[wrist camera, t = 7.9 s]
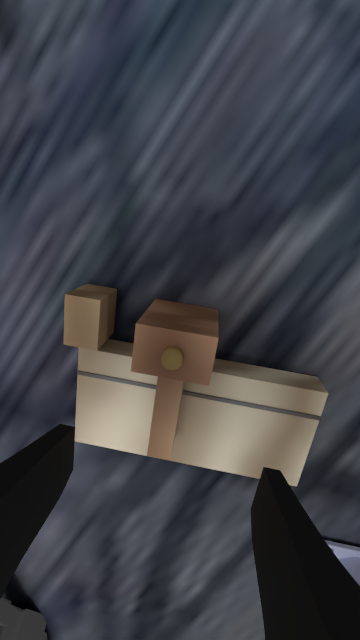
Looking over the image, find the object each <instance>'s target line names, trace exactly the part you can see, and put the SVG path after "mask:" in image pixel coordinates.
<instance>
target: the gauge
mask: <svg viewBox="0 0 360 640" xmlns="http://www.w3.org/2000/svg"><path fill="white" fill-rule="evenodd" d="M218 339H219V309H213V308H207V307H202V306H196V305H190V304H184V303H178V302H172V301H167V300H161V299H155V300H154V301H153V303H152V304H151V305H150V306H149V308H148V309H147V310H146V311H145V313H144V314H143V315H142V316H141V318H140V319H139V320H138V321H137V323H136V327H135V336H134V346H133V355H132V365H131V372H137V373H142V374H147V375H152V376H158V379H157V386H156V393H155V400H154V408H153V415H152V422H151V429H150V437H149V444H148V451H147V456H151V457H156V458H161V459H165V460H171V455H172V450H173V445H174V439H175V433H176V427H177V421H178V415H179V409H180V403H181V397H182V391H183V385H184V382H190V383H195V384H200V385H206V386H209V384H210V379H211V374H212V369H213V364H214V359H215V354H216V349H217V344H218Z"/></svg>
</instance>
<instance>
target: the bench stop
mask: <svg viewBox="0 0 360 640" xmlns="http://www.w3.org/2000/svg"><path fill="white" fill-rule="evenodd" d="M116 299H117V289H115V288H109V287H103V286H98V285H92V284H85V285H83V286H81V287H79V288H77V289H75V290H73V291H71V292H68V293H66V294H65V311H64V345H69V346H74V347H80V348H85V349H90V350H96V351H97V350H98V349H99V348H100V347H101V346H102V345H103V344H104V343H105V342H106V341H107V340H108V339H109V337H110V336H111V335H112V334H113V333H114V324H115V312H116Z"/></svg>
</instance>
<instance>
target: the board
mask: <svg viewBox="0 0 360 640" xmlns="http://www.w3.org/2000/svg"><path fill="white" fill-rule="evenodd" d="M133 346H134V343H128V342H123V341H117V340H112V339H108V340H107V341H106V342H105V343H104V344H103V345H102V346H101V347H100V348H99V349H98V350H97V351H96V350H90V349H85V348H80V347H79V356H78V371H77V375H78V378H77V400H76V422H75V441H77V442H81V443H86V444H91V445H96V446H101V447H106V448H111V449H116V450H121V451H126V452H130V453H135V454H140V455H145V456H147V451H148V444H149V437H150V429H151V422H152V415H153V408H154V400H155V393H156V386H157V379H158V376H152V375H147V374H142V373H137V372H131V365H132V355H133ZM327 396H328V392H327V390H326V389H325V387H324V385H323V384H322V382H321V381H320V379H319V378H318V377H316V376H310V375H305V374H299V373H294V372H288V371H283V370H277V369H271V368H266V367H260V366H255V365H249V364H244V363H238V362H233V361H227V360H222V359H216V358H215V359H214V364H213V369H212V374H211V379H210V384H209V386H206V385H200V384H195V383H190V382H184V385H183V391H182V397H181V403H180V409H179V415H178V421H177V427H176V433H175V439H174V445H173V450H172V455H171V460H170V461H175V462H179V463H184V464H189V465H194V466H199V467H204V468H209V469H214V470H219V471H223V472H228V473H233V474H238V475H243V476H248V477H253V478H258V479H260V477H261V473H262V470H263V467H267V468H271V469H276V470H280V471H281V472H282V474H283V476H284V477H285V479H286V481H287V482H288V484H289V485H292V486H297V485H298V482H299V479H300V476H301V473H302V470H303V467H304V464H305V461H306V458H307V455H308V452H309V449H310V446H311V443H312V441H313V438H314V435H315V432H316V429H317V426H318V423H319V421H320V420H321V414H322V411H323V408H324V405H325V402H326V399H327ZM150 457H151V456H150ZM155 458H156V457H155ZM160 459H161V458H160Z"/></svg>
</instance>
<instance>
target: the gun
mask: <svg viewBox="0 0 360 640" xmlns="http://www.w3.org/2000/svg"><path fill="white" fill-rule="evenodd" d="M46 624H47V623H46V621H45V619H44V617H43V615H42V614H41V613H38V612H35V611H32V610H29V609H21V608H18V607H16V606H14V605H11V601H10V600H7V599H4V598H2V597H1V599H0V640H47V633H46V632H44V631H45V628H46Z"/></svg>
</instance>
